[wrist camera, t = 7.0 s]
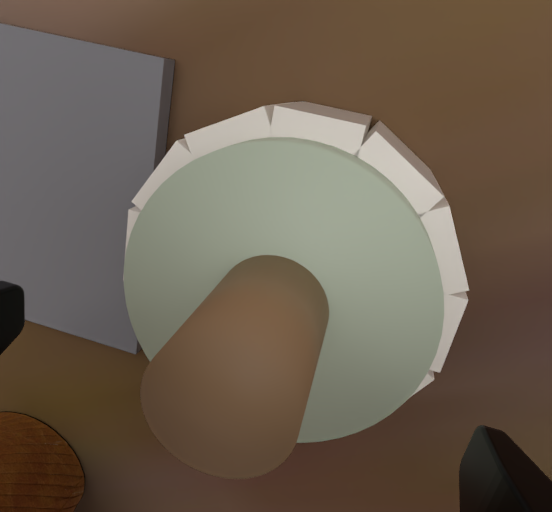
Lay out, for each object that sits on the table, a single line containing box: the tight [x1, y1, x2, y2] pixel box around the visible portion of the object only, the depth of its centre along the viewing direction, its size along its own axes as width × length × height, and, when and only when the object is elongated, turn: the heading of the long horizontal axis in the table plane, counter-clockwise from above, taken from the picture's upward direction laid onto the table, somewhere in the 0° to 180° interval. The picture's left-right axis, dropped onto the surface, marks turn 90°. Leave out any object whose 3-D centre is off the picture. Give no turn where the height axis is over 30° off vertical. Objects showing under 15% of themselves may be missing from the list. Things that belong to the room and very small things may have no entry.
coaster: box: [0, 22, 175, 354], centre depth 18 cm, size 11×11×1 cm
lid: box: [124, 137, 444, 479], centre depth 10 cm, size 8×8×5 cm
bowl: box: [123, 101, 469, 398], centre depth 14 cm, size 9×9×4 cm
